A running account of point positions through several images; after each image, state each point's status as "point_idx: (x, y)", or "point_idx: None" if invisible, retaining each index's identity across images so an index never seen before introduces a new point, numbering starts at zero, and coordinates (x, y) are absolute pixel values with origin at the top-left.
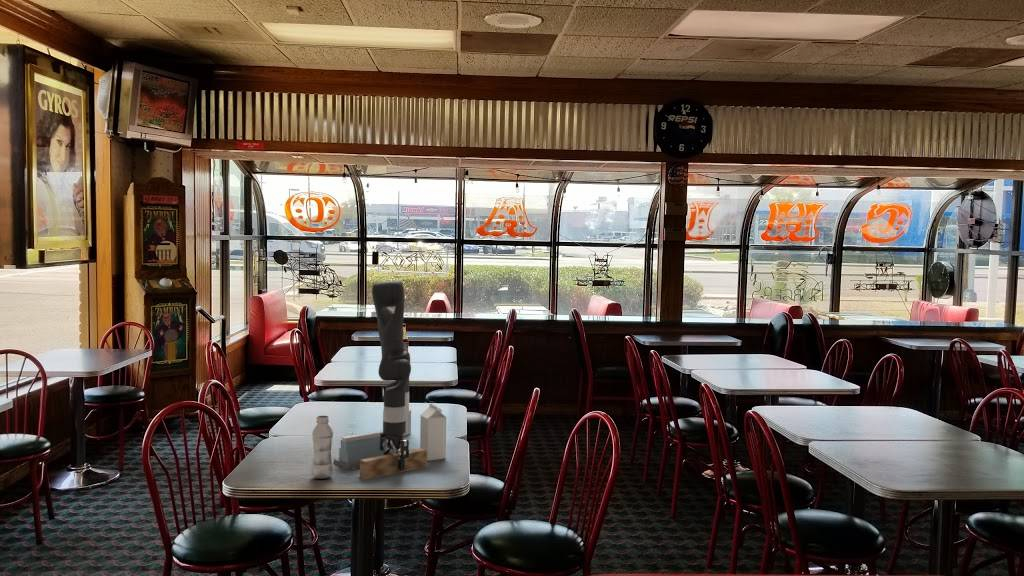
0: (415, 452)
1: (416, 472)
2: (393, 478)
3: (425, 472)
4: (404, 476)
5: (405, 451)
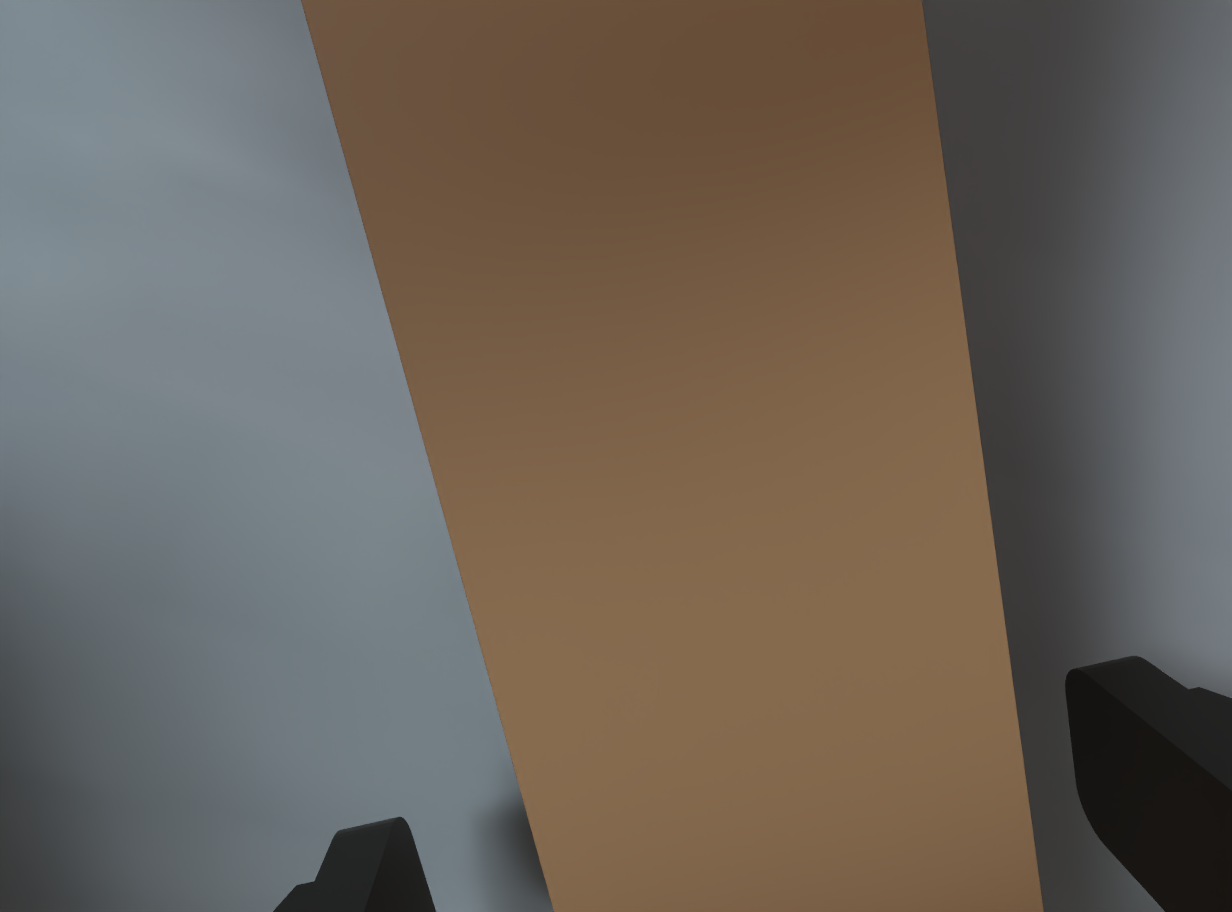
0: (921, 24)
1: (1057, 253)
2: None
3: (1188, 15)
4: (1194, 641)
5: (547, 522)
